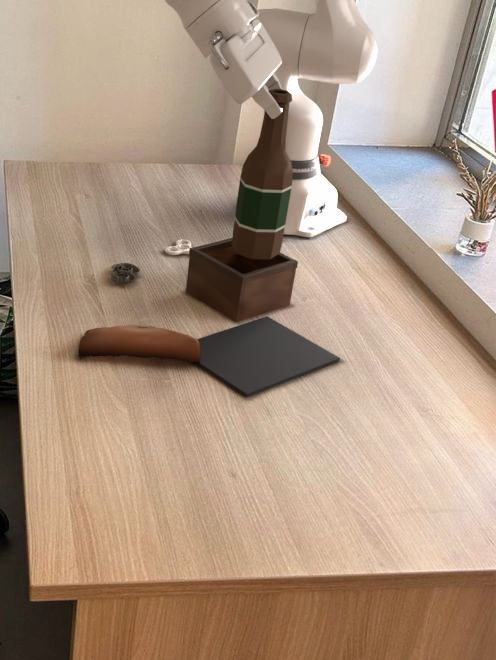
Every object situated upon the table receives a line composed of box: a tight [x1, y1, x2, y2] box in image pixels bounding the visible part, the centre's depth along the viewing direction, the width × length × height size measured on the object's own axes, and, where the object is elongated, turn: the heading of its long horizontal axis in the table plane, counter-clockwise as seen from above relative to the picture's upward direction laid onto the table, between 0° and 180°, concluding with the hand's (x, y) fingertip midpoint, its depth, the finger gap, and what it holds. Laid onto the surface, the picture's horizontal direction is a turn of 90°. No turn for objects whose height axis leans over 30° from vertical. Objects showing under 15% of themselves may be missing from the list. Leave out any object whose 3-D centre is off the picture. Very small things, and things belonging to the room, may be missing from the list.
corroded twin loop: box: [108, 262, 141, 286], centre depth 163 cm, size 5×8×1 cm, turn 173°
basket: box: [185, 237, 299, 323], centre depth 159 cm, size 13×13×8 cm
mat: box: [191, 316, 341, 398], centre depth 145 cm, size 20×16×1 cm
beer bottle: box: [231, 89, 293, 259], centre depth 141 cm, size 8×8×24 cm
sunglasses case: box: [77, 324, 201, 364], centre depth 141 cm, size 18×7×7 cm
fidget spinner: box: [164, 239, 194, 256], centre depth 175 cm, size 7×6×1 cm
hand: (281, 110), depth 136 cm, fingers closed on beer bottle, 4 cm apart
